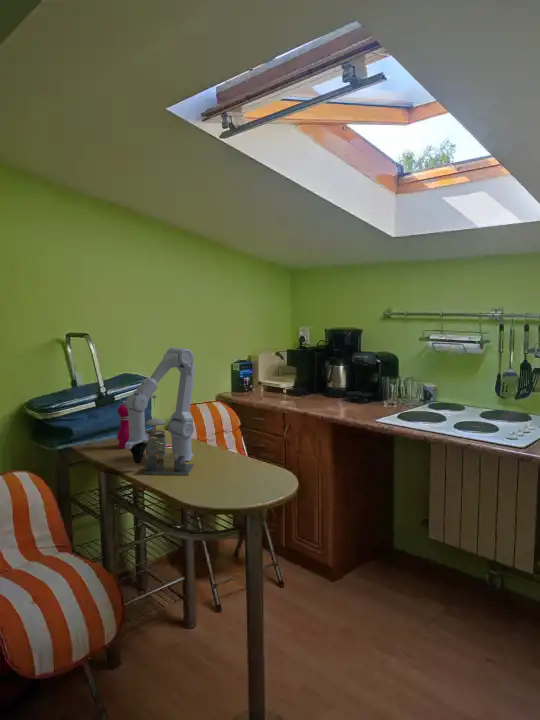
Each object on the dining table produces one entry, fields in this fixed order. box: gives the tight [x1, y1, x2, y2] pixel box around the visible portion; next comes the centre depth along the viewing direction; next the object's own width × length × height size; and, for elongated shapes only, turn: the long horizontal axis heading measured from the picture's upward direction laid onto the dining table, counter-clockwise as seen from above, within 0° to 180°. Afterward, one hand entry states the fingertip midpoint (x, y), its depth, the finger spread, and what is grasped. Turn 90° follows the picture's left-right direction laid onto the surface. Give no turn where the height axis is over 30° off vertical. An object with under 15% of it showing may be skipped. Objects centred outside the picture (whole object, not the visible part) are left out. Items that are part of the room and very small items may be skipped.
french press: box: [143, 394, 167, 460], centre depth 214 cm, size 10×12×25 cm
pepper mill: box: [116, 400, 129, 450], centre depth 229 cm, size 7×7×20 cm
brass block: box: [162, 452, 177, 470], centre depth 197 cm, size 4×4×5 cm
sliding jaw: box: [144, 454, 159, 470], centre depth 200 cm, size 12×2×4 cm, turn 176°
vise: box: [143, 456, 195, 476], centre depth 197 cm, size 10×16×4 cm, turn 86°
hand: (138, 462), depth 198 cm, fingers closed
